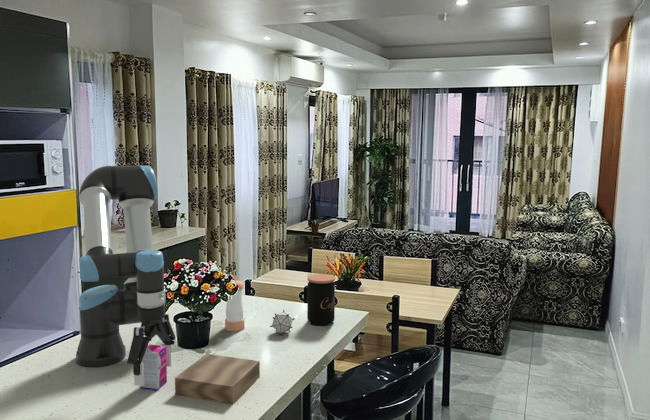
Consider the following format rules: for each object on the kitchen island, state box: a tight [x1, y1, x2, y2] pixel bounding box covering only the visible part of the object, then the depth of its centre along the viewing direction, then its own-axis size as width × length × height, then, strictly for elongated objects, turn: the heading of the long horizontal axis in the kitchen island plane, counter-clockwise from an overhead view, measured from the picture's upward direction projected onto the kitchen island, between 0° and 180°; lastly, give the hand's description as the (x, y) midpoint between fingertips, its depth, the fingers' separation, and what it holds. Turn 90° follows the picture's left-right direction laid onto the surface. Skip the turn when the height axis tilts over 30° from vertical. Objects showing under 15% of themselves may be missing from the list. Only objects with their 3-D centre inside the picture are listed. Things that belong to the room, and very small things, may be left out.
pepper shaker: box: [224, 278, 245, 332], centre depth 208 cm, size 7×7×19 cm
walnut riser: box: [174, 353, 261, 405], centre depth 161 cm, size 18×18×5 cm
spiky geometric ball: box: [269, 309, 295, 336], centre depth 204 cm, size 9×8×10 cm
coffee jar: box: [306, 273, 336, 327], centre depth 216 cm, size 11×11×18 cm
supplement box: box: [139, 343, 168, 391], centre depth 160 cm, size 6×6×12 cm
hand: (153, 374), depth 161 cm, fingers open, 13 cm apart
